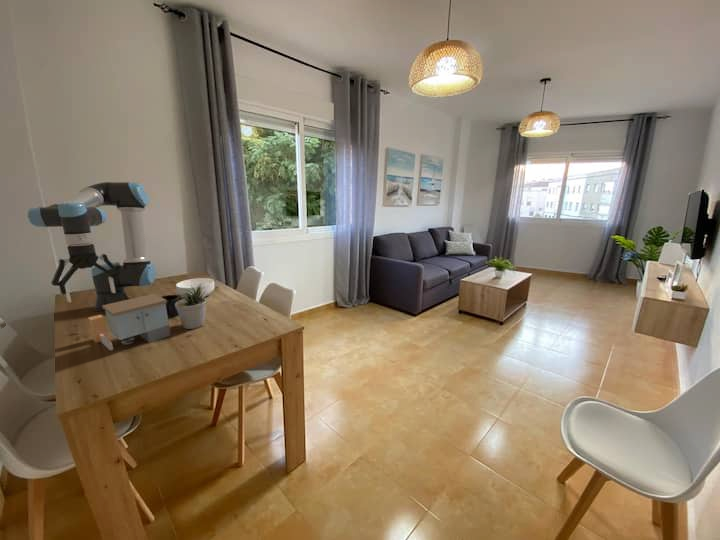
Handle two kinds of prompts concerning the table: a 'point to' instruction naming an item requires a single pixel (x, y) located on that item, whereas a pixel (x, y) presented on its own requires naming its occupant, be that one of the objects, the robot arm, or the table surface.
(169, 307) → the mug
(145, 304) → the cabinet
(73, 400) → the table surface
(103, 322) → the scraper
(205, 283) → the bowl
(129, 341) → the token
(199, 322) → the potted plant
